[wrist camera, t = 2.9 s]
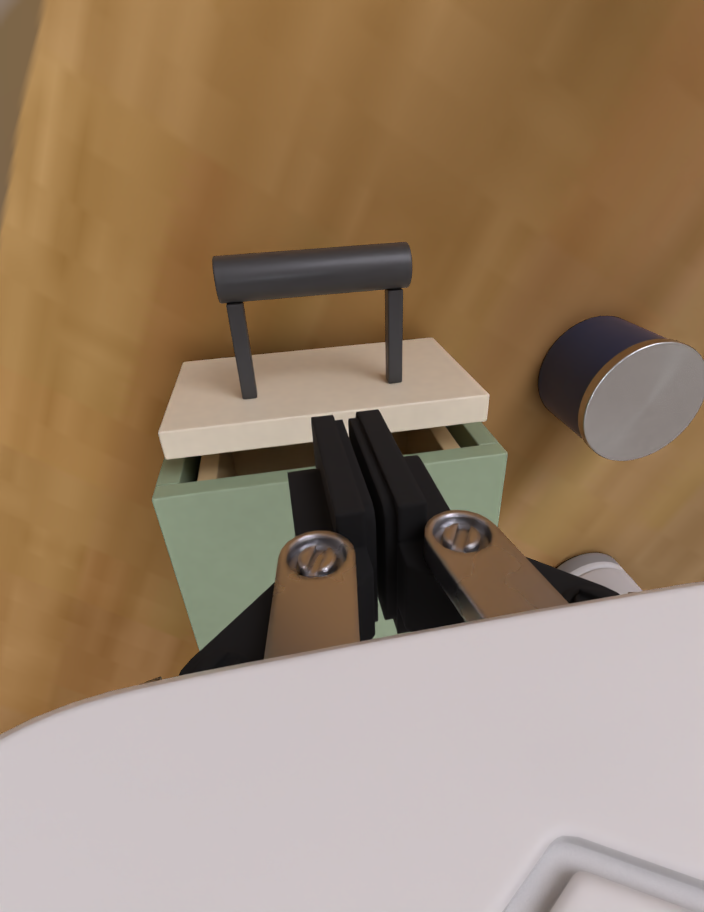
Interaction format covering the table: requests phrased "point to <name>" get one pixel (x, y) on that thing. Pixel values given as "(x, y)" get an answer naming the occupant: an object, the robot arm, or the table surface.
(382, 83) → the table surface
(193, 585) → the cabinet
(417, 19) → the table surface
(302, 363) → the drawer
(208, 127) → the table surface
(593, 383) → the tin
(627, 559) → the table surface
